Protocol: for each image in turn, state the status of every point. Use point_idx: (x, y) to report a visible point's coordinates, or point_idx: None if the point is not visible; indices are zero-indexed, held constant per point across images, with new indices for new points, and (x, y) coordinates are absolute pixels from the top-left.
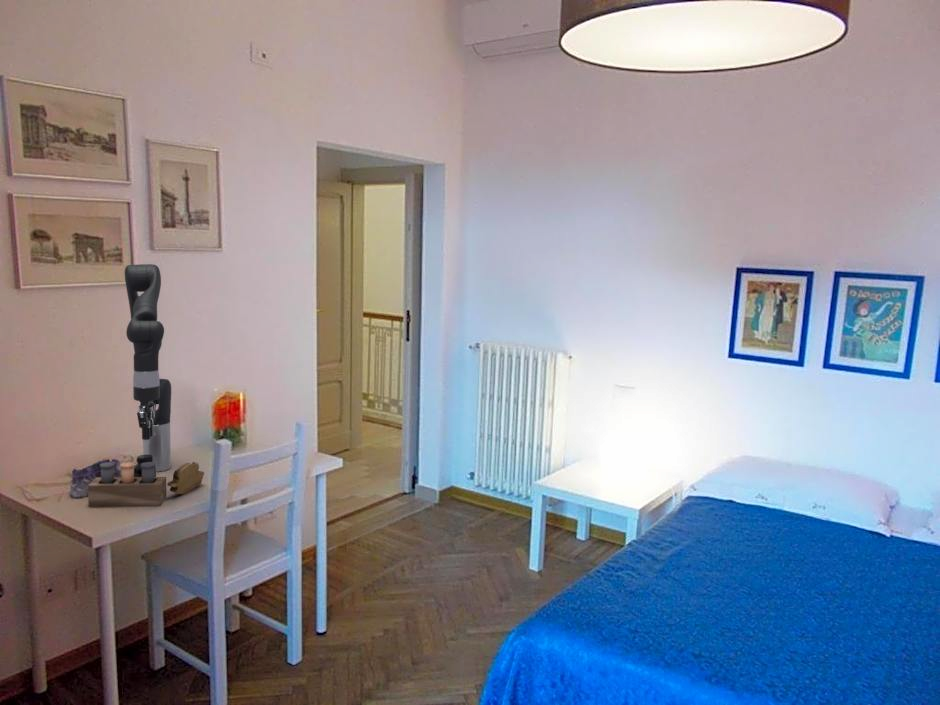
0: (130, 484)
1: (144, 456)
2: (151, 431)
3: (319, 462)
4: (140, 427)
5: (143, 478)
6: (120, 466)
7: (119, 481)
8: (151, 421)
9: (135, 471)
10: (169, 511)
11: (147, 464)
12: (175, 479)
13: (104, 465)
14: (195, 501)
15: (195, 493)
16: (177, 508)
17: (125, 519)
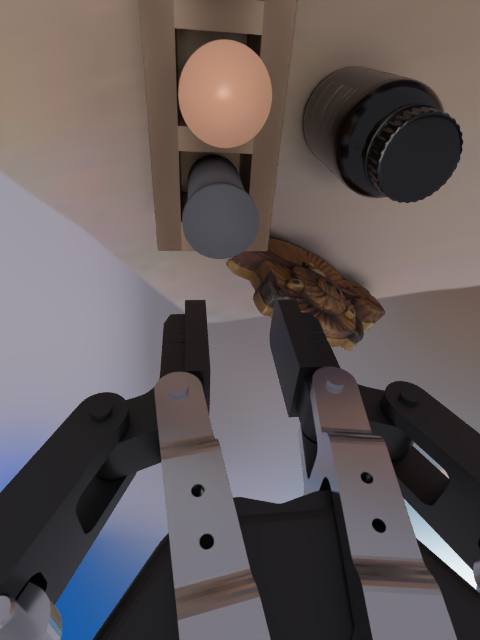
0: (158, 111)
1: (415, 159)
2: (277, 371)
3: None
4: (89, 404)
5: (193, 179)
6: (204, 44)
7: (214, 27)
8: (301, 453)
9: (357, 95)
10: (112, 250)
11: (210, 224)
12: (263, 277)
13: None
14: (206, 304)
15: None
16: (142, 268)
17: (2, 107)
